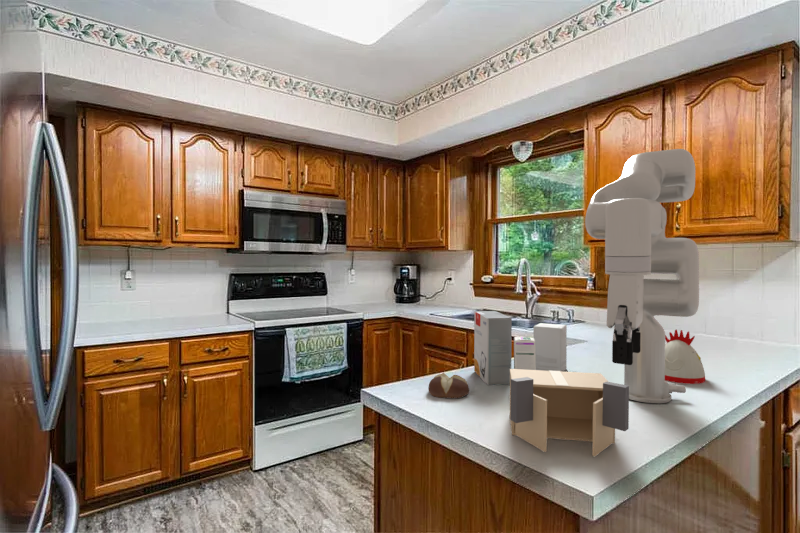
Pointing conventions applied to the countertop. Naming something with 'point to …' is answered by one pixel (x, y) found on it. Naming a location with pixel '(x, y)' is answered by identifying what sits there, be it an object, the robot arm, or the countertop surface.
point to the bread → (448, 386)
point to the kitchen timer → (682, 360)
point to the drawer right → (609, 415)
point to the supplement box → (550, 347)
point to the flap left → (528, 413)
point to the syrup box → (524, 353)
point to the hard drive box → (492, 346)
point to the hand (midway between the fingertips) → (626, 357)
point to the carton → (565, 401)
